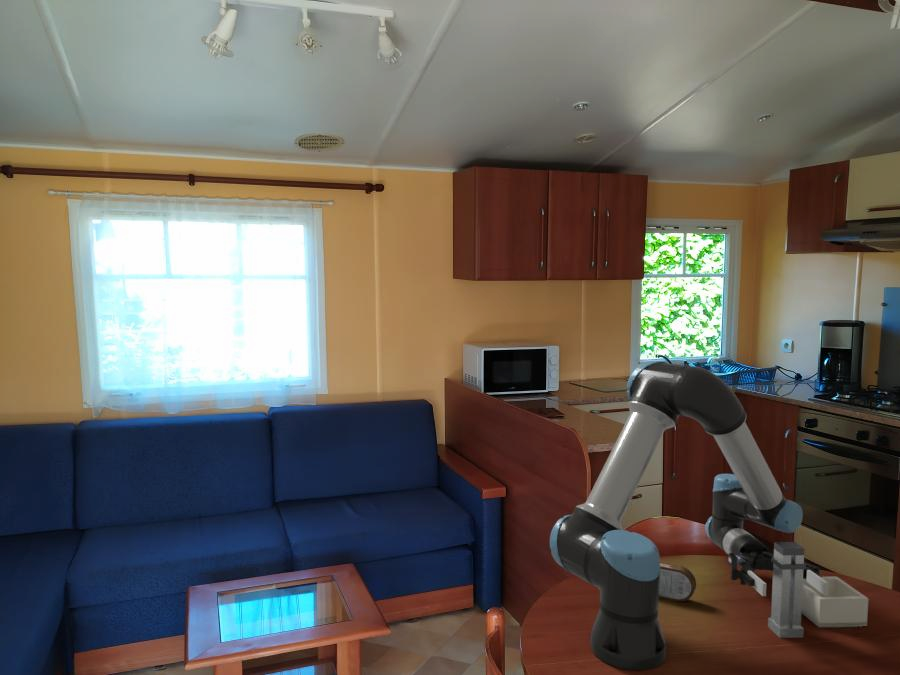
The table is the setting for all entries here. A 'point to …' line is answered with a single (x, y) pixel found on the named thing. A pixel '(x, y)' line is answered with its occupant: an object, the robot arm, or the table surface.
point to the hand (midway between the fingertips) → (795, 589)
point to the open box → (834, 605)
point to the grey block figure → (787, 590)
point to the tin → (676, 582)
